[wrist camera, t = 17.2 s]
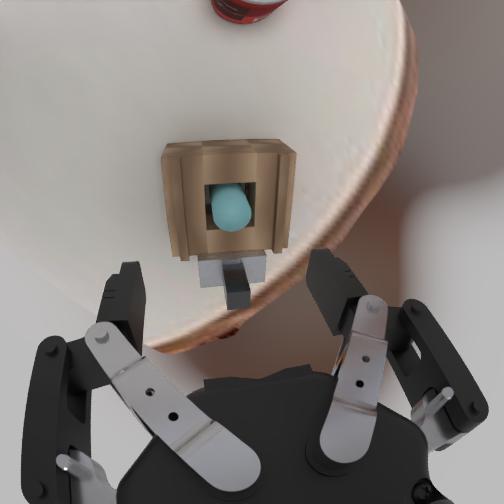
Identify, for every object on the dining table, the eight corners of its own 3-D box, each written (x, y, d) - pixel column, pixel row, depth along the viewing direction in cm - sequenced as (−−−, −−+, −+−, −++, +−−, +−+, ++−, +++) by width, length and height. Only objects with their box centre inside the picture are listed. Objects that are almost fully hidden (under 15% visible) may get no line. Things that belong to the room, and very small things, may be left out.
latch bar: (200, 281, 36) (202, 316, 31) (197, 255, 34) (199, 289, 29) (262, 275, 37) (273, 309, 32) (264, 250, 35) (276, 282, 30)
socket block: (175, 228, 39) (172, 261, 33) (167, 143, 33) (160, 161, 26) (273, 221, 42) (289, 252, 35) (279, 139, 35) (299, 155, 28)
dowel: (209, 199, 38) (214, 233, 31) (207, 171, 36) (211, 199, 28) (239, 197, 39) (251, 229, 31) (238, 168, 36) (251, 195, 29)
